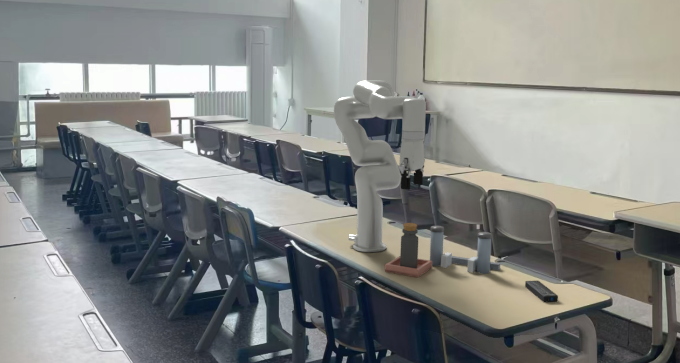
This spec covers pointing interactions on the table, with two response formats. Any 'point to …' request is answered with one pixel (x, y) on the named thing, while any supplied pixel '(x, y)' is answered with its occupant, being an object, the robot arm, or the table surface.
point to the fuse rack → (474, 263)
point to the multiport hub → (541, 291)
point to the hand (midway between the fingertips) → (411, 186)
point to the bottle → (409, 246)
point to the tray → (396, 268)
